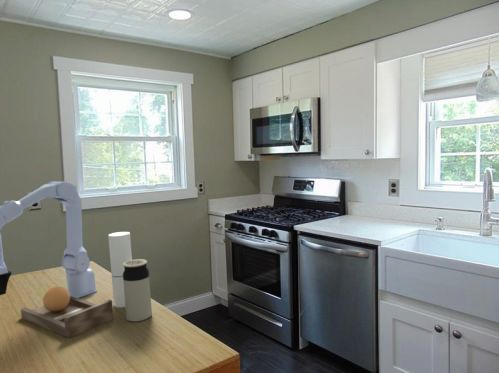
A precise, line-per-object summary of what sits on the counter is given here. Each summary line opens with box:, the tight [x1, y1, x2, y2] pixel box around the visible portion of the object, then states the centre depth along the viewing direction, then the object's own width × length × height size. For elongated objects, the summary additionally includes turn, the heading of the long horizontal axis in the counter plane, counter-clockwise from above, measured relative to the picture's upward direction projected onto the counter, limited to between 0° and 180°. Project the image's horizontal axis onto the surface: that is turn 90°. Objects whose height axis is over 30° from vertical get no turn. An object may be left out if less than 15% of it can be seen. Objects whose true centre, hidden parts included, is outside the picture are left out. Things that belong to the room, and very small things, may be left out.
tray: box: [20, 296, 114, 339], centre depth 124 cm, size 15×28×6 cm, turn 55°
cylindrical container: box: [107, 231, 133, 308], centre depth 133 cm, size 7×7×25 cm
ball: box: [42, 286, 70, 312], centre depth 127 cm, size 8×8×8 cm
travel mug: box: [123, 258, 153, 322], centre depth 122 cm, size 8×8×18 cm
